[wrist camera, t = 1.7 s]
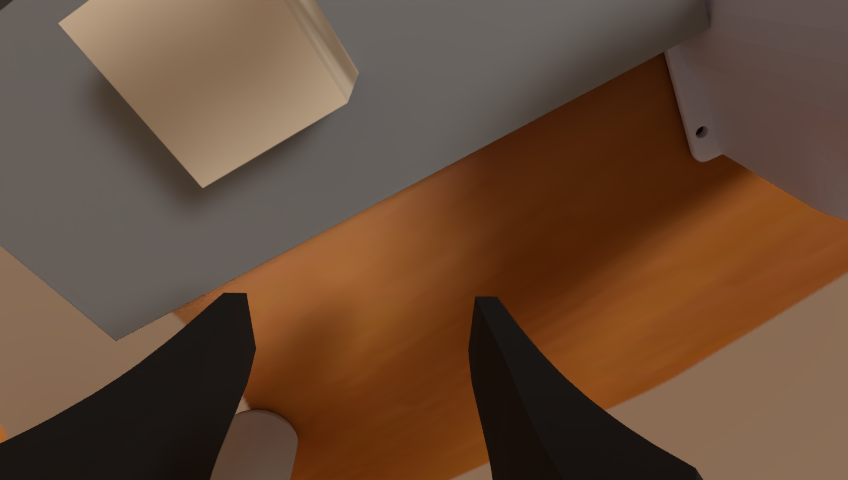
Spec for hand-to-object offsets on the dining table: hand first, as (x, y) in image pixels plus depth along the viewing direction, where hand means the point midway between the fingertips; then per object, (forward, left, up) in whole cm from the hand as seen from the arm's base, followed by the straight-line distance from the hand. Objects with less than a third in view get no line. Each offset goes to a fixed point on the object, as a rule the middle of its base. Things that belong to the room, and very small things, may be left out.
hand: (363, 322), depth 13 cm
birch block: (+8, 0, -6) cm, 10 cm away
